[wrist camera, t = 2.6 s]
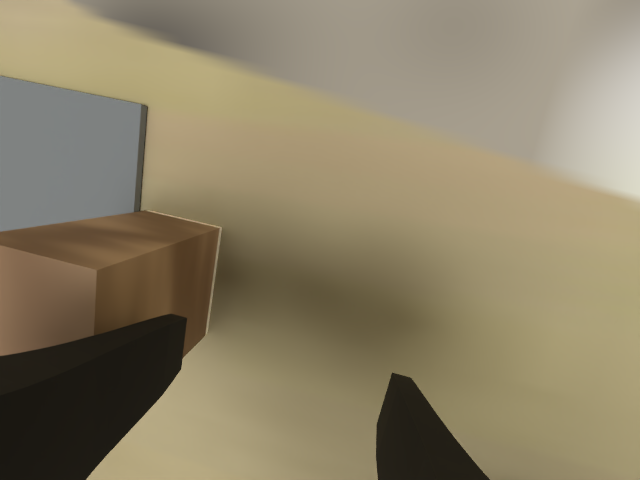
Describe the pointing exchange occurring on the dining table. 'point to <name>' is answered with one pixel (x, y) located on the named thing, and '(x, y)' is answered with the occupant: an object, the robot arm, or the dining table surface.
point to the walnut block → (104, 277)
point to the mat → (67, 155)
